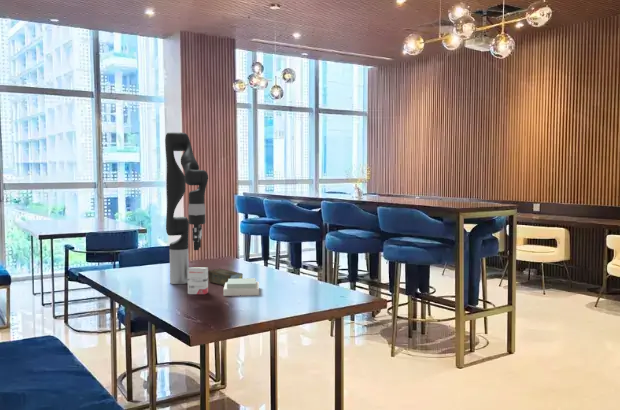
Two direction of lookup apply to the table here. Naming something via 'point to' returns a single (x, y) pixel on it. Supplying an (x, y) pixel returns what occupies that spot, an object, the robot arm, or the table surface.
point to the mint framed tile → (241, 287)
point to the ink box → (197, 280)
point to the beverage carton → (222, 276)
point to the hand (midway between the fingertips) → (197, 248)
